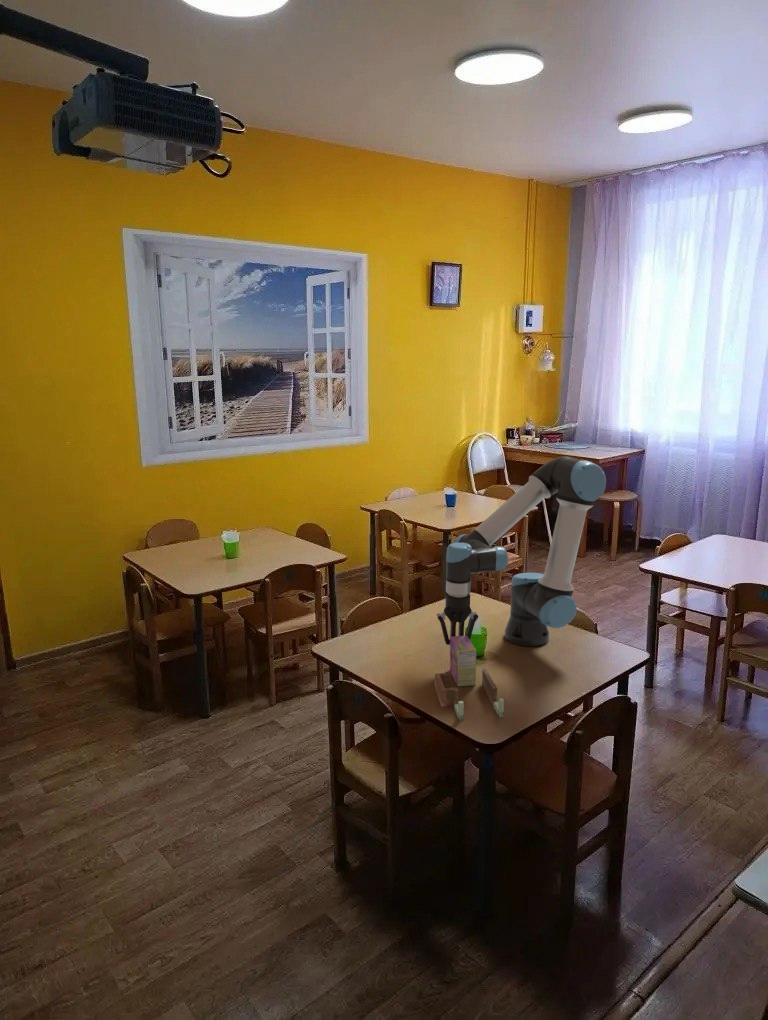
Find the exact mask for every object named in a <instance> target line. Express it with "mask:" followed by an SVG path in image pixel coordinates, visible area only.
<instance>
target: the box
mask: <svg viewBox="0 0 768 1020" xmlns="http://www.w3.org/2000/svg"><path fill="white" fill-rule="evenodd" d="M449 639H450V645H449V672H450V674H451V677H452V678H453V680H454V682H455V683H456V685H457V687H467V686H468V687H469V686H476V683H477V682H476V681H477V648H476V646H475V645H474V644H473V642H472V640H471V638H470V639H469V638H468V636H465V635H464V636H458V635H456V636H453V637H450V636H449Z"/></svg>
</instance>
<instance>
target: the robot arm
mask: <svg viewBox="0 0 768 1020" xmlns="http://www.w3.org/2000/svg"><path fill="white" fill-rule="evenodd" d="M606 486H607V477H606V474H605V471H604V470H603V468H602V467H601V466H600V465H598V464H596V463H594V462H591V461H589V460H584V459H579V458H574V457H571V456H564V455H563V456H557V457H556V458H554V459H551V460H549V461H547V462H546V463H544V464H543V465H541V466H540V467H539V468H538V469H536V470H535V471H534V472H533V473H532V474H531V475H529V476H528V481H527V482H526V483H525V484H524V485H523V486H521V488H520V489H518V490H517V491H516V492H515V493H514V494H513V495H512V496H510V497H509V498H508V499H507V500H506V501H505V502H504V503H502V505H500V506H499V507H498V508H497V509H495V511H494V512H492V513H491V514H490V515H489V516H488V517H486V519H484V521H482V522H481V523H480V524H479V525H478V526H476V528H474V529H473V530H472V531H470V533H469V534H466V533H464V534H460V535H458V536H457V537H456V539H454V542H453V543H452V542H451V543H450V544H449V545H447V548H446V555H445V556H446V557H445V561H446V566H445V567H446V575H445V579H446V580H445V583H446V584H445V592H446V593H445V606H444V609H443V611H442V612H441V613H437V614H436V617H437V620H438V621H439V624H440V627H441V631H442V636H443V640H444V642H445V644H446V646H448V645H449V646H450V637H453V636H468V638H469V639H470V640H471V637H472V634H473V630H474V627H475V623H476V622H477V620H478V619H479V615H478V614H477V612H474V611H472V609H471V594H470V593H471V581H472V578H471V577H472V574H480V573H489V572H498V571H499V572H500V571H504V570H505V569H506V568H507V566H508V564H509V555H508V552H507V550H506V548H505V547H503V546H500V545H499V546H498V545H497V546H496V545H494V543H495V542H496V541H498V540H499V539H500V538H501V537H502V536H504V535H505V533H507V532H508V531H509V530H510V529H511V528H513V527H514V526H515V525H516V524H518V522H519V521H520V520H521V519H523V518H524V517H525V516H526V515H527V514H528V513H529V512H530V511H532V510H533V509H534V508H535V507H536V506H537V505H538V504H540V503H541V502H542V501H543V500H544V499H550V498H551V497H552V496H553V495H555V494H556V501H557V503H559V507H558V511H557V517H556V521H555V523H554V528H553V534H552V539H551V542H550V547H549V552H548V556H547V560H546V565H545V568H544V572H543V573H539V572H521V573H517V574H514V575H513V576H512V578H511V583H510V584H511V585H510V615H509V619H508V621H507V623H506V625H505V628H504V639H505V640H506V641H508V642H509V643H511V644H513V645H518V646H523V647H538V646H543V645H546V644H547V643H548V642H549V640H550V632H549V631H550V630H549V628H551V629H561V628H563V627H566V626H567V625H568V624H570V623H571V622H572V621H573V619H574V618H575V616H576V614H577V610H578V605H577V603H576V601H575V599H574V598H573V596H574V591H575V587H574V586H573V584H572V583H571V582H572V578H573V573H574V570H575V569H574V568H575V563H576V560H577V555H578V551H579V547H580V544H581V538H582V533H583V530H584V526H585V523H586V516H587V512H588V510H590V509H591V508H592V507H594V506H595V505H594V504H595V501H596V500H598V499H599V498H600V497H601V496H603V494H604V492H605V490H606ZM492 545H494V546H492ZM446 617H447V619H448V620H449V621H450V629H449V630H450V633H449V634H448V629H447V626H446V622H445V620H446ZM468 617H469V620H468V622H467V627H466V630H465V621H466V620H467V619H468ZM457 623H458V633H457ZM548 627H549V628H548ZM456 633H457V634H458V635H457V634H456ZM449 635H450V636H449Z"/></svg>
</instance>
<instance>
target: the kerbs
mask: <svg viewBox="0 0 768 1020" xmlns="http://www.w3.org/2000/svg"><path fill="white" fill-rule="evenodd" d="M464 703H465V702H464V701H463V700H460V701H459V700H458V704H454V707H453V708H454V712H455V714H456V717H457V719H458V721H464V708H465V707H464ZM493 708H494V711H495V712H496V714H497V715H498V717H499V718H505V717H504V716H505V714H504V713H505V700H504V698H498V701H497V702H494V705H493Z"/></svg>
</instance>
